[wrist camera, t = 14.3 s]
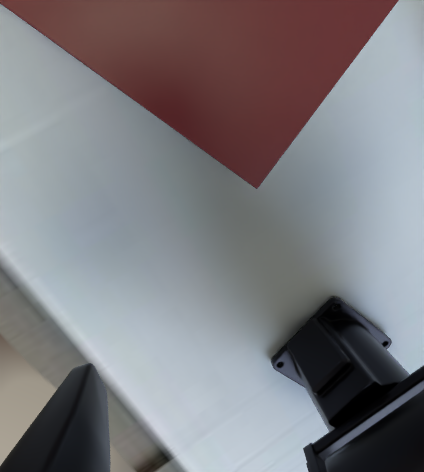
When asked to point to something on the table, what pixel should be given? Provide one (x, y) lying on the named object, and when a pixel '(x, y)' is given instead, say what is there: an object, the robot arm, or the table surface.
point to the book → (217, 63)
